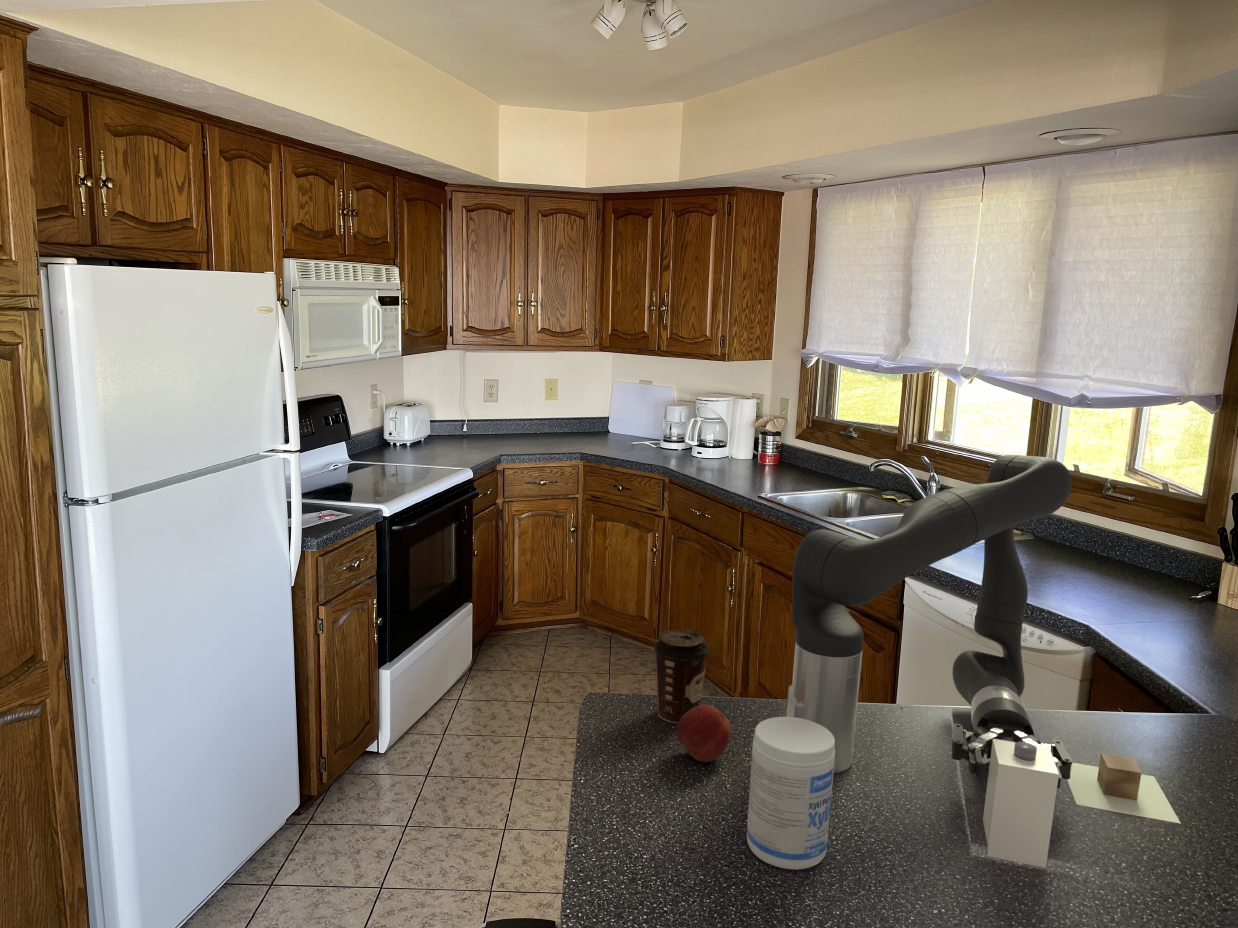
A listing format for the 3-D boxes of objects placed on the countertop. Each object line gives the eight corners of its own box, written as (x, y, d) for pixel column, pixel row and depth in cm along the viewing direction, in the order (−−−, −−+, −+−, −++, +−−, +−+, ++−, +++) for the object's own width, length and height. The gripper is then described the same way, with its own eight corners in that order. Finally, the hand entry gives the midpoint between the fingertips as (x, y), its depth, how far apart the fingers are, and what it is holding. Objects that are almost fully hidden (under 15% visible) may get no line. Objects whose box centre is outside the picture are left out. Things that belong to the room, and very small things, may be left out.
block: (1103, 794, 116) (1107, 767, 115) (1096, 779, 120) (1100, 752, 119) (1137, 800, 115) (1141, 772, 114) (1129, 785, 119) (1133, 758, 118)
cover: (987, 855, 103) (999, 753, 101) (982, 826, 109) (993, 729, 107) (1045, 867, 101) (1060, 764, 99) (1037, 837, 108) (1050, 738, 105)
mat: (1075, 811, 114) (1076, 804, 113) (1059, 766, 125) (1060, 760, 125) (1179, 830, 110) (1180, 823, 110) (1153, 782, 121) (1154, 776, 121)
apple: (727, 775, 119) (731, 721, 118) (671, 768, 120) (674, 714, 119) (730, 748, 126) (733, 697, 125) (677, 742, 128) (680, 691, 126)
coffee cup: (706, 705, 140) (710, 629, 138) (706, 729, 132) (711, 649, 130) (652, 701, 141) (656, 625, 139) (649, 725, 133) (653, 645, 130)
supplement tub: (822, 881, 98) (833, 761, 95) (739, 862, 100) (747, 745, 98) (829, 833, 107) (839, 722, 104) (752, 817, 109) (760, 709, 107)
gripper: (950, 688, 124) (958, 740, 109) (1058, 704, 120) (1083, 760, 105) (944, 736, 126) (952, 794, 110) (1052, 754, 122) (1075, 817, 106)
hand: (1016, 778), depth 108 cm, fingers open, 8 cm apart
